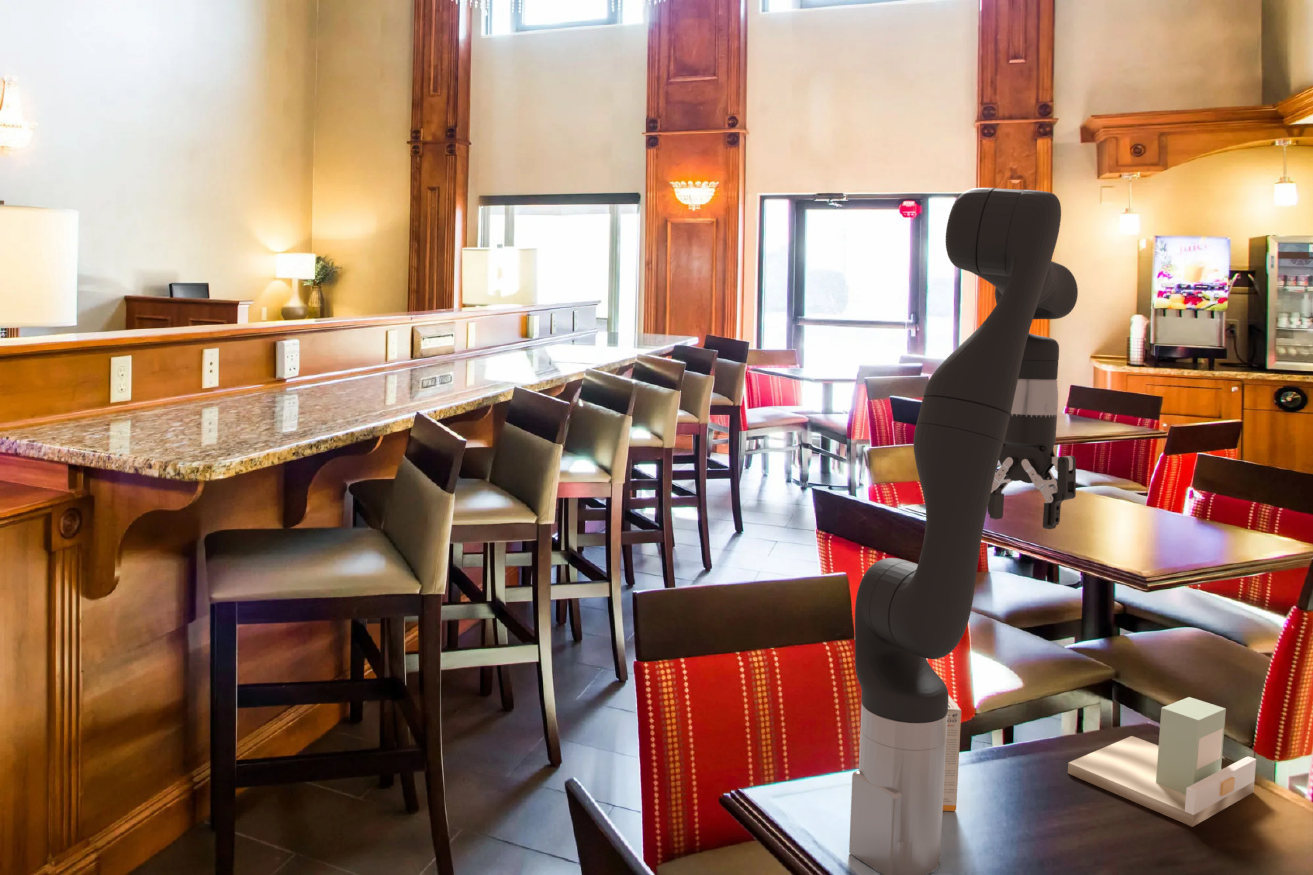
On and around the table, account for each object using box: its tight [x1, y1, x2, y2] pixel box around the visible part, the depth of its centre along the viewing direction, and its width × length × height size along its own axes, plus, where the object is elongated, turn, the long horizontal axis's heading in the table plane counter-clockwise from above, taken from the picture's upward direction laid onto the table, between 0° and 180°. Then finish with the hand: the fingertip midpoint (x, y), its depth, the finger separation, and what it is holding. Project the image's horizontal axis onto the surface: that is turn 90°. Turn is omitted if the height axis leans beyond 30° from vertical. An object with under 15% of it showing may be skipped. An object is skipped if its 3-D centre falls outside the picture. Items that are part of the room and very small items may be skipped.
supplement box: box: [943, 694, 962, 812], centre depth 113 cm, size 8×5×13 cm, turn 179°
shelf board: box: [1067, 735, 1257, 828], centre depth 117 cm, size 16×16×4 cm
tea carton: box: [1156, 696, 1227, 795], centre depth 114 cm, size 5×7×10 cm, turn 123°
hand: (1021, 523), depth 128 cm, fingers open, 8 cm apart
